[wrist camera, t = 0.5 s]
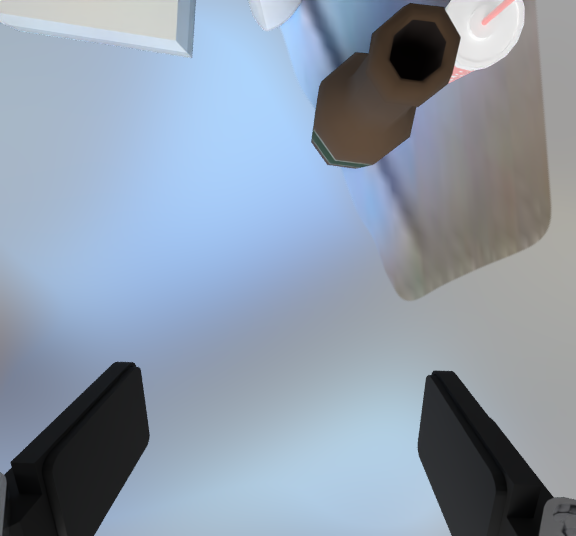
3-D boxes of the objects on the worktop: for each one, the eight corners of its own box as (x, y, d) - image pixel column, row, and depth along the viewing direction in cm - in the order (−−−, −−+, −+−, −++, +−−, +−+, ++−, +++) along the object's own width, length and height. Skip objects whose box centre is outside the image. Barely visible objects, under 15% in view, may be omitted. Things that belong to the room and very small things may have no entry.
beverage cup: (460, 18, 32) (570, -97, 19) (473, 82, 34) (586, 17, 20) (399, 44, 33) (464, -48, 20) (415, 105, 35) (486, 58, 21)
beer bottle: (333, 79, 34) (392, -125, 11) (395, 118, 35) (569, 1, 12) (297, 147, 36) (283, 92, 13) (355, 183, 37) (440, 189, 14)
